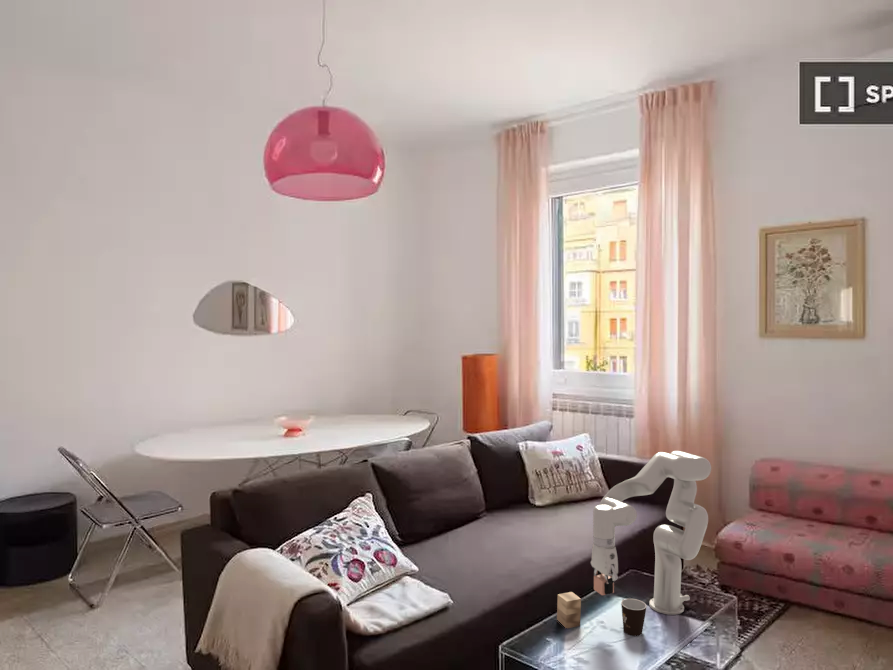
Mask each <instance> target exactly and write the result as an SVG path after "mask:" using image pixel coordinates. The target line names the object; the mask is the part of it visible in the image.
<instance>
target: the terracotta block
mask: <svg viewBox="0 0 893 670" xmlns="http://www.w3.org/2000/svg"><path fill="white" fill-rule="evenodd" d="M609 578H610V576H608V579H609ZM605 583H606V581H605V575H604V574H601V575H596V576H594V575H593V590H594V591H595V592H597V593H598V594H599V595H601V596H605V595H607V594H605ZM614 593H615V582H614V583H613V593H612V594H614Z"/></svg>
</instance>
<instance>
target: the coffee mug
mask: <svg viewBox="0 0 893 670" xmlns="http://www.w3.org/2000/svg"><path fill="white" fill-rule="evenodd" d="M620 605H621V614H622V615H621V616H622V624H623V625H622V627H623V628H622V629H623V632H624V633H625V634H626V635H628V636H630V637H641V635H643V631H644V626H645V625H644V623H645V618H646V612H647V608H648V607H647V604H646V602H644V601H642V600H639V599H637V598H624V599H622V600H621V601H620Z"/></svg>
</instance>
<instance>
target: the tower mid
mask: <svg viewBox="0 0 893 670" xmlns="http://www.w3.org/2000/svg"><path fill="white" fill-rule="evenodd" d="M556 604H557V605H556V606H557V608H558V609H559V610H561V611H562V612H563V613H564V614H566V615H570V614H575V613H580V612H581V611H582V609H581V608H582V598H580V597H579V596H578V595H577V594H575V593H574V592H573V591H569V592H563V593H559V594H557V603H556ZM557 608H556V609H557Z"/></svg>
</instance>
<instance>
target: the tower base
mask: <svg viewBox="0 0 893 670" xmlns="http://www.w3.org/2000/svg"><path fill="white" fill-rule="evenodd" d="M556 610H557V611H556V621H557V620H558V621H559V622H560V623H561V624H562V625H563V626H564V627H565V628H564V627H563V626H562V625H561V624H560V623H559V622H558V621H557V622H558V623H559V624H560V625H561V626H562V627H563V628H564V629H566V628H567V629H571V628H572V629H573V628H576V627H581V612H580V613H575V614H570V615H566V614H564V613H563V612H562V611H561V610H559V609H558V608H556Z"/></svg>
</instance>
